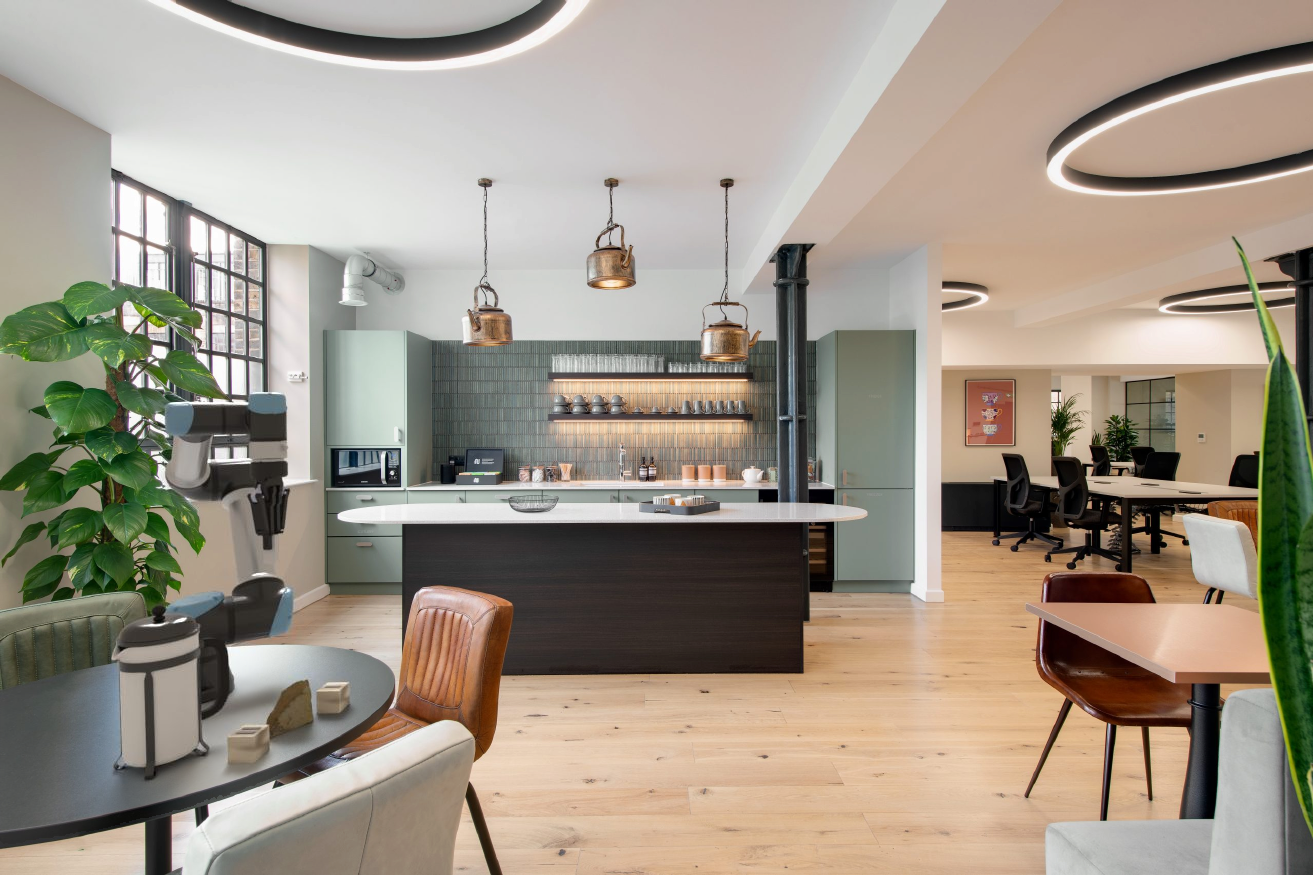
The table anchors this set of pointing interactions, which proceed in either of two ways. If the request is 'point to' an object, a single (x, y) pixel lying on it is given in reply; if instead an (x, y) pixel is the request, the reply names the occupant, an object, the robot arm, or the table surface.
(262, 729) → the birch block
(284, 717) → the rock
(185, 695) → the coffee press
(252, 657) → the table surface
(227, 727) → the table surface
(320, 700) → the birch block
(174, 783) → the table surface
